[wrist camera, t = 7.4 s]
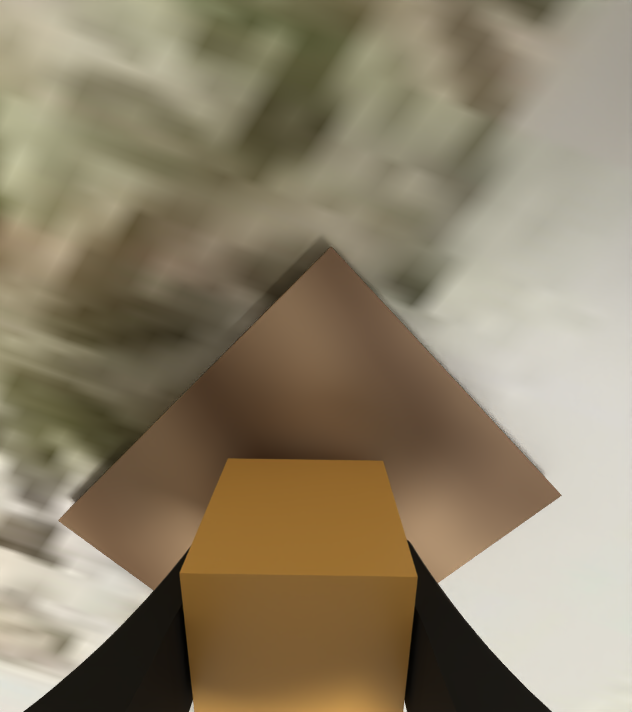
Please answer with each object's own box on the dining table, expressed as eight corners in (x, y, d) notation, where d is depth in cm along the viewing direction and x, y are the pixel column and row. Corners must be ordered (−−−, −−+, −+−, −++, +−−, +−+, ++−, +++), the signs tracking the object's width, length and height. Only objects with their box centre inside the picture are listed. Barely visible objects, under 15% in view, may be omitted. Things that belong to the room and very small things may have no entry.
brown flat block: (330, 246, 12) (336, 248, 9) (546, 479, 15) (625, 561, 11) (74, 503, 15) (-9, 590, 11) (289, 664, 18) (282, 781, 14)
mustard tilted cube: (227, 458, 12) (179, 573, 8) (383, 460, 12) (417, 576, 8) (234, 581, 14) (197, 735, 9) (374, 584, 14) (400, 739, 9)
